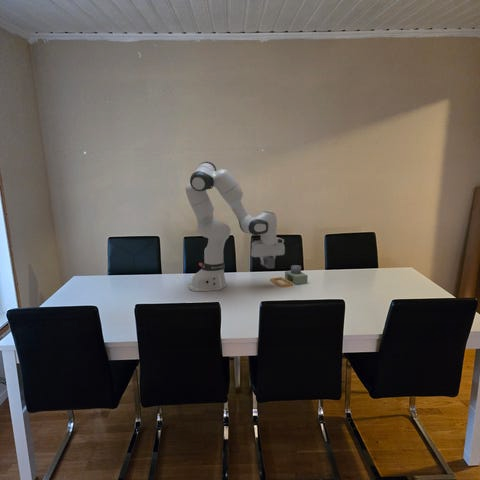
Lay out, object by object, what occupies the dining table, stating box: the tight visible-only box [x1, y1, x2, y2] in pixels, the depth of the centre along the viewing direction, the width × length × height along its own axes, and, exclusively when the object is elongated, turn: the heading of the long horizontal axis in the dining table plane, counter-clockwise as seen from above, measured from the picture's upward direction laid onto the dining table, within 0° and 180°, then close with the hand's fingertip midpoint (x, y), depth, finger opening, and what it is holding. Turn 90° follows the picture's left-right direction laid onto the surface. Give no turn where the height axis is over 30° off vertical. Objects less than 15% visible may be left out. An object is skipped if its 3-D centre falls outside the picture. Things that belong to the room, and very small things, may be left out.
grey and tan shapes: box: [269, 264, 309, 288], centre depth 230 cm, size 18×14×9 cm
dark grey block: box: [260, 256, 276, 270], centre depth 220 cm, size 4×10×5 cm, turn 23°
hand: (267, 263), depth 220 cm, fingers closed on dark grey block, 4 cm apart
